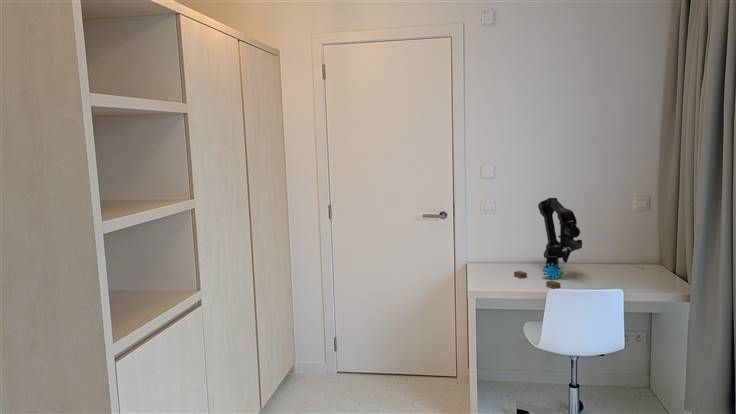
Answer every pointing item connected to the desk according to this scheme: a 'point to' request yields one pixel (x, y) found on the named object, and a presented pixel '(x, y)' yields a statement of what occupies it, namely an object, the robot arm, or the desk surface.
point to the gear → (552, 271)
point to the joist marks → (549, 283)
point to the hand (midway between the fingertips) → (565, 262)
